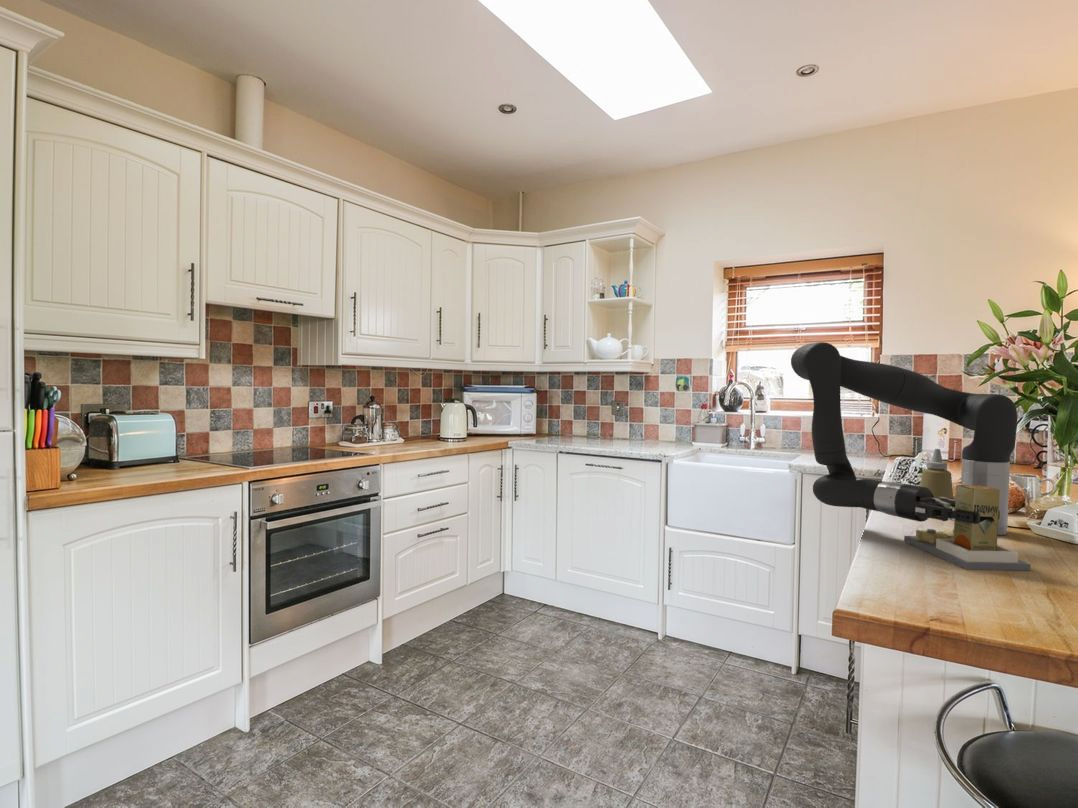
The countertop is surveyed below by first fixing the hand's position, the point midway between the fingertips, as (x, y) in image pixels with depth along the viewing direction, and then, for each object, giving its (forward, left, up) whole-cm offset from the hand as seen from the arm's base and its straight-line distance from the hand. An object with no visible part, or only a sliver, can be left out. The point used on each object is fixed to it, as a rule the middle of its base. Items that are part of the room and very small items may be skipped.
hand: (988, 516), depth 114 cm
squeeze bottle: (-45, +18, -10) cm, 50 cm away
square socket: (-2, -1, -8) cm, 8 cm away
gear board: (-6, -1, -9) cm, 11 cm away
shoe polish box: (-2, -1, -7) cm, 7 cm away
